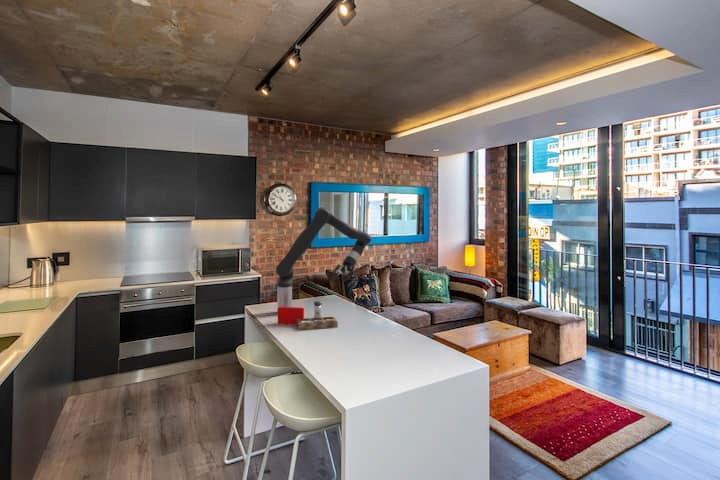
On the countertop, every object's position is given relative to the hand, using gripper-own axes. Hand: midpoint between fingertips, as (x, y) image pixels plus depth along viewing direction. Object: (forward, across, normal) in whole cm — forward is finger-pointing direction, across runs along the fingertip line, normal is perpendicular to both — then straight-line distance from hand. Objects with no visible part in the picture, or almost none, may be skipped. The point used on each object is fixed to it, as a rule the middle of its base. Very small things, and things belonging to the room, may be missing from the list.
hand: (338, 279), depth 227 cm
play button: (+36, -14, 0) cm, 38 cm away
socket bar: (+30, 0, +5) cm, 30 cm away
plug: (+23, -9, +12) cm, 28 cm away
